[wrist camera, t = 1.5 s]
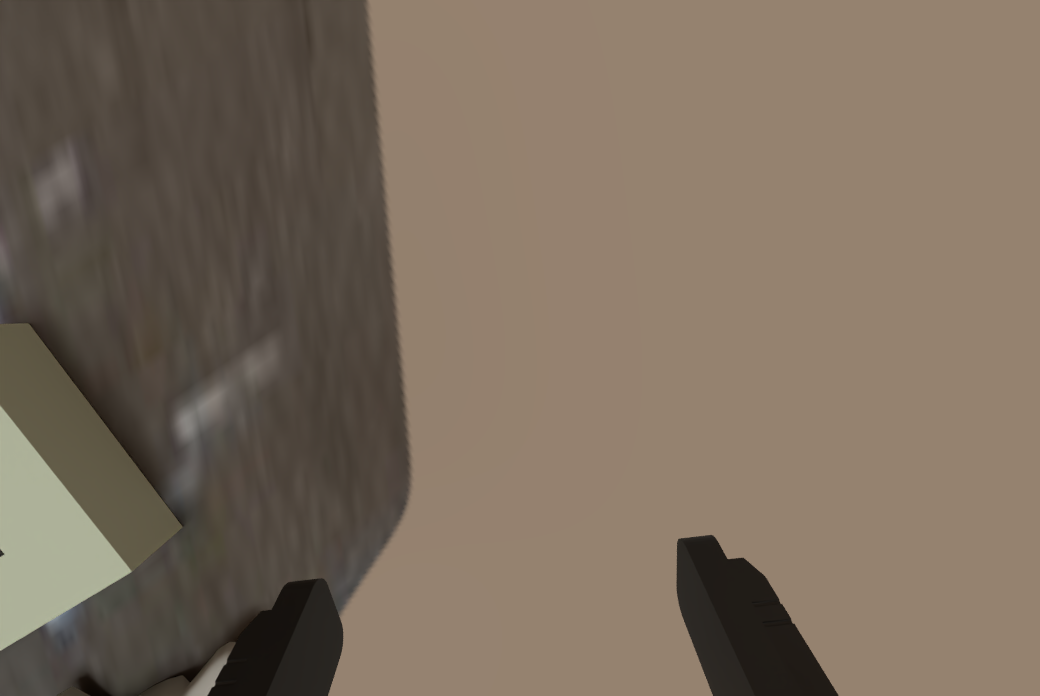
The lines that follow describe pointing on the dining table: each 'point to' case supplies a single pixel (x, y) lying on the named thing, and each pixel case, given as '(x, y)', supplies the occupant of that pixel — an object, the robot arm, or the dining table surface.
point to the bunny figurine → (183, 679)
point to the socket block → (63, 493)
